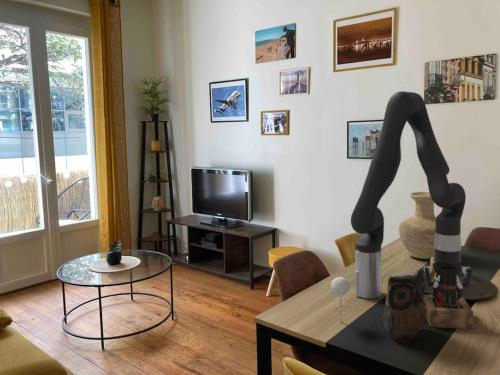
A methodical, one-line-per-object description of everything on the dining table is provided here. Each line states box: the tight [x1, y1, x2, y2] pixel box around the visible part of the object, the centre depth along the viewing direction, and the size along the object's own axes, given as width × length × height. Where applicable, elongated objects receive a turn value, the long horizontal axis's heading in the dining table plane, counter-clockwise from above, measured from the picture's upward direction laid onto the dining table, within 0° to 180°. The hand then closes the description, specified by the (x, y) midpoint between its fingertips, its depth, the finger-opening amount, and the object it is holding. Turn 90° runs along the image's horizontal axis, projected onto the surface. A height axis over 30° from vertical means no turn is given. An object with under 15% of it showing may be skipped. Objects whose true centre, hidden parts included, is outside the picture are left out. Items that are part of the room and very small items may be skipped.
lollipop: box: [330, 276, 351, 323], centre depth 133 cm, size 6×6×15 cm
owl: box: [382, 267, 427, 343], centre depth 123 cm, size 13×13×20 cm
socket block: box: [423, 294, 474, 330], centre depth 132 cm, size 12×12×6 cm
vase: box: [398, 191, 437, 260], centre depth 193 cm, size 22×22×30 cm
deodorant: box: [436, 268, 459, 308], centre depth 131 cm, size 6×6×15 cm
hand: (446, 298), depth 132 cm, fingers closed on deodorant, 6 cm apart
